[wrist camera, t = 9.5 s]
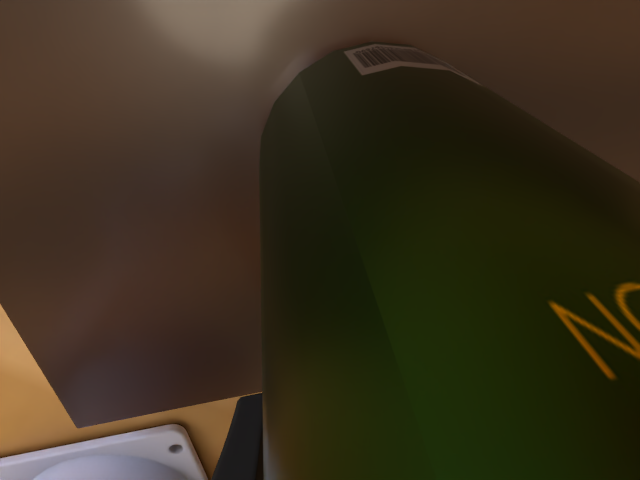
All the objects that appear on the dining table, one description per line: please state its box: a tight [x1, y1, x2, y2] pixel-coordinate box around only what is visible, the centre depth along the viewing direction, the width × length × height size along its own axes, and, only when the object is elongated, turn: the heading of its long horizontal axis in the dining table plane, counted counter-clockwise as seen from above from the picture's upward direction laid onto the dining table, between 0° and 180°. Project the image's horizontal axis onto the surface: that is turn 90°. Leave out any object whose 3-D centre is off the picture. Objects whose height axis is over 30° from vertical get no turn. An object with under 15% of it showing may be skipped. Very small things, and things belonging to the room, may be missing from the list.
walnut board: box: [0, 0, 640, 428], centre depth 14 cm, size 15×21×2 cm
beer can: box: [259, 41, 640, 480], centre depth 8 cm, size 5×5×12 cm
